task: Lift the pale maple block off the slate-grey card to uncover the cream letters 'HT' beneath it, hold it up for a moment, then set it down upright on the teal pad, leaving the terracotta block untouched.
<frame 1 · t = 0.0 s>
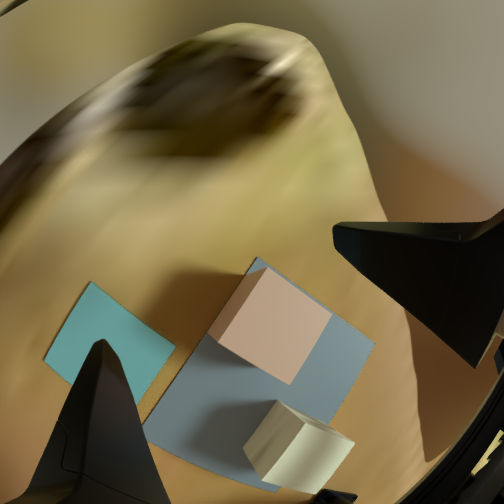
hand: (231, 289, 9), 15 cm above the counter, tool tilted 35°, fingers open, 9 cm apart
teal pad: (105, 355, 20), on the counter
maple block: (284, 435, 23), resting on code card
terracotta block: (254, 322, 24), resting on code card
code card: (268, 394, 23), on the counter
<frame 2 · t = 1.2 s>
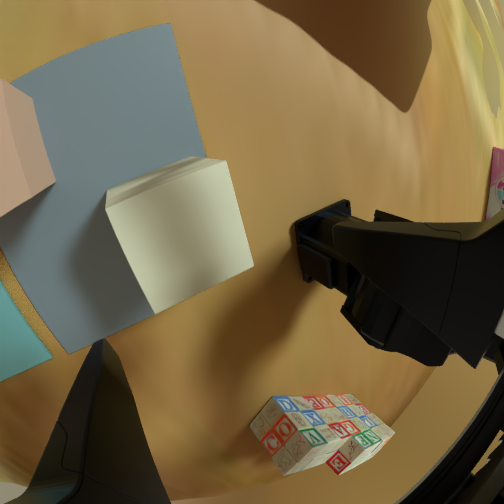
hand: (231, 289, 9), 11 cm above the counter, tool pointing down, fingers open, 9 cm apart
stack of blocks: (307, 408, 38), on the counter
maple block: (163, 213, 18), resting on code card
terracotta block: (5, 160, 12), resting on code card
gum box: (491, 186, 53), on the counter
code card: (93, 196, 16), on the counter
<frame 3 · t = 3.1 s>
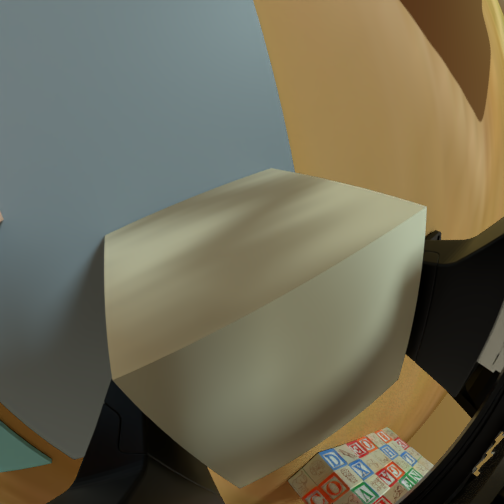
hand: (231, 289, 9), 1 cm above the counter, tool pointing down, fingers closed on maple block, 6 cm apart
stack of blocks: (346, 450, 30), on the counter
maple block: (217, 274, 10), resting on code card, touching gripper
code card: (78, 247, 8), on the counter
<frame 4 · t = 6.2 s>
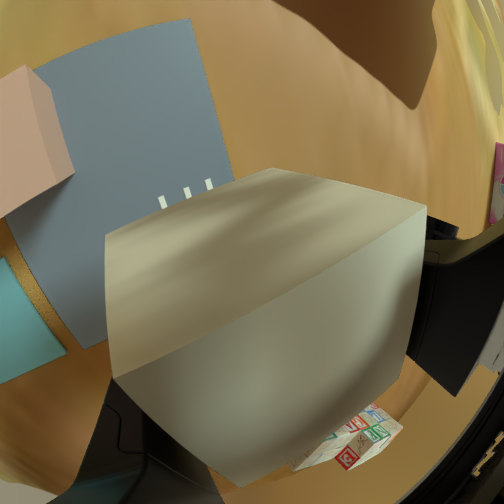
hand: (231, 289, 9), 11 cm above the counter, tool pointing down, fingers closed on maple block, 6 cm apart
stack of blocks: (315, 403, 38), on the counter
maple block: (218, 274, 10), point 10 cm above the counter, touching gripper
terracotta block: (22, 151, 12), resting on code card
gum box: (495, 181, 53), on the counter
code card: (113, 187, 16), on the counter
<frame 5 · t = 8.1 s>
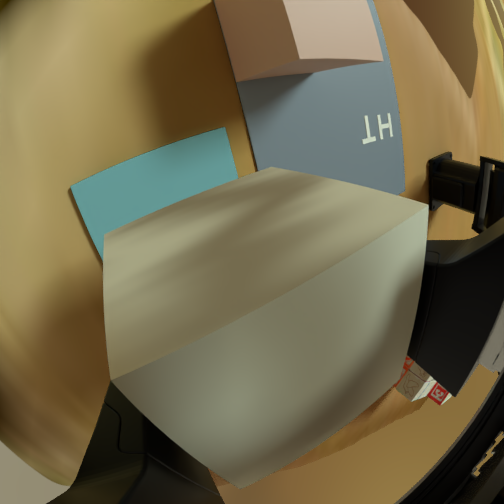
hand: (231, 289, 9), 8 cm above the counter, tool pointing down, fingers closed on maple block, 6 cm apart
teal pad: (173, 226, 16), on the counter
stack of blocks: (399, 349, 40), on the counter
maple block: (217, 274, 10), point 7 cm above the counter, touching gripper
terracotta block: (268, 35, 14), resting on code card
code card: (338, 96, 18), on the counter
when the fingers open (3 cm above the counter, at t = 9.8 s): maple block drops 2 cm, resting on teal pad.
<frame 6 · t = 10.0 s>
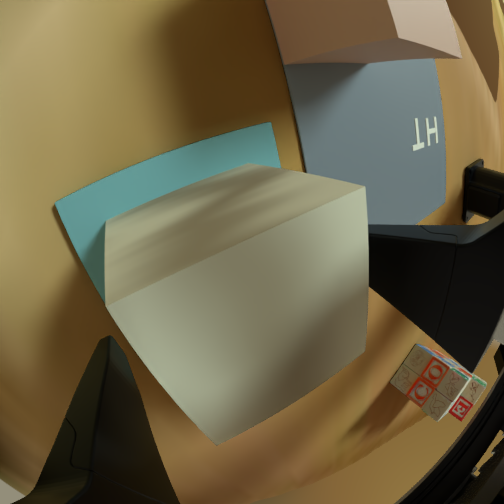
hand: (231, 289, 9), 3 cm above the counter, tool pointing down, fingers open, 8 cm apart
teal pad: (199, 255, 12), on the counter
stack of blocks: (419, 364, 36), on the counter
maple block: (202, 256, 12), resting on teal pad
terracotta block: (318, 12, 10), resting on code card
code card: (391, 94, 14), on the counter
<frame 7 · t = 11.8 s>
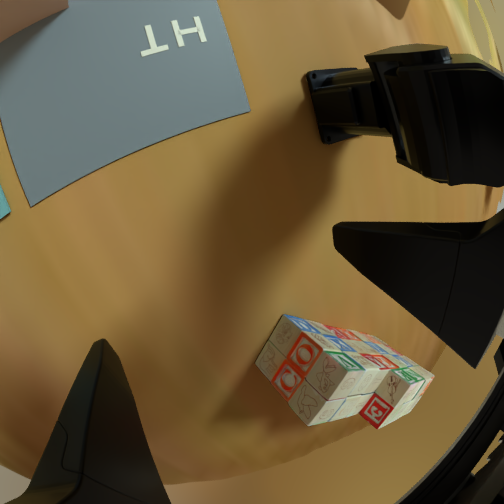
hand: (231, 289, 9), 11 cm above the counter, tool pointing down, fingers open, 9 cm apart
stack of blocks: (326, 347, 33), on the counter
code card: (102, 17, 11), on the counter
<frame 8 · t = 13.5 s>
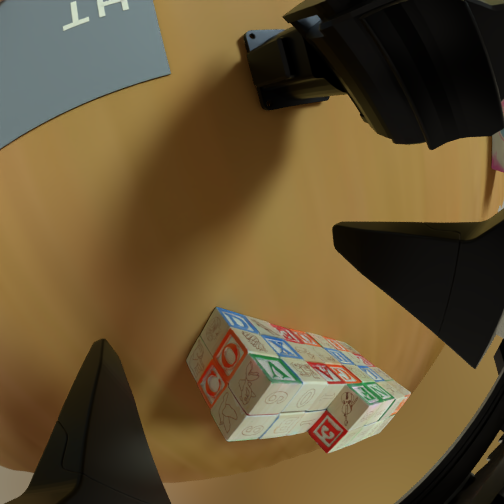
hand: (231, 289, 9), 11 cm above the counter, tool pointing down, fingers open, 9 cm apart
stack of blocks: (281, 351, 29), on the counter
gum box: (493, 126, 44), on the counter
code card: (35, 1, 7), on the counter
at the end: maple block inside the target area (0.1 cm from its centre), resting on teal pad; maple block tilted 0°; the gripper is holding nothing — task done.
